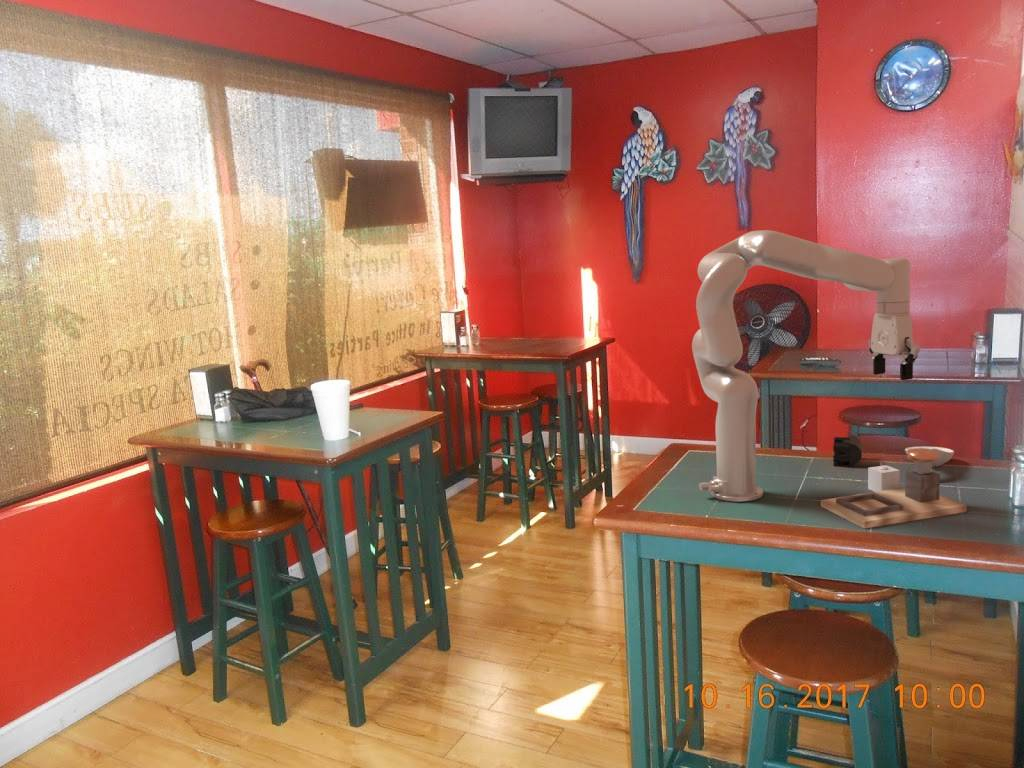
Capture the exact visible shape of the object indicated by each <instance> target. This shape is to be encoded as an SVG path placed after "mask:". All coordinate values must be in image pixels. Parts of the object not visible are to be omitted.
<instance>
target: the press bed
mask: <svg viewBox="0 0 1024 768" xmlns="http://www.w3.org/2000/svg"><path fill="white" fill-rule="evenodd" d="M904 478H905V480H904V481H905V483H904V484H905V486H904V487H899V488H897V489H891V490H884V491H878V492H874V491H872V492H867V493H866V492H865V493H858V494H854V495H852V494H851V495H846V496H840V497H834V498H827V499H821V500H820V507H821V508H823V509H825V510H827V511H830V512H831V513H833V514H835V515H837V516H839V517H841V518H843V519H845V520H847V521H849V522H851V523H853V524H855V525H857V526H859V527H861V528H862V529H869V528H876V527H882V526H887V525H895V524H901V523H906V522H907V523H908V522H912V521H917V520H918V521H919V520H925V519H930V518H937V517H942V516H949V515H955V514H961V513H967V512H968V505H967V504H965V503H962V502H959V501H957V500H955V499H951V498H949V497H947V496H944V495H942V494H940V485H941V484H940V481H941V480H940V479H941V474H940V473H937V472H934V471H932V474H929V475H923V476H921V475H918V474H916V473H914V469H913V470H907V471H905V477H904Z"/></svg>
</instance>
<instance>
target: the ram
mask: <svg viewBox="0 0 1024 768" xmlns="http://www.w3.org/2000/svg"><path fill="white" fill-rule="evenodd" d="M906 455H907V456H906V457H907V460H910V461H913V470H914V473H916V474H918V475H921V476H923V475H929V474H932V472H933V469H932V468H933V467H932V462H934V461H937V460H939V452H938V451H936V450H932V449H925V448H915V449H910V450H908V451H907V453H906Z"/></svg>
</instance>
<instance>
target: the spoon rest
mask: <svg viewBox="0 0 1024 768" xmlns="http://www.w3.org/2000/svg"><path fill="white" fill-rule="evenodd" d="M915 448H925V449H932V450H936V451H938V452H939V460H937V461H934V462H932V466H933V467H934V466H936V467H940V465H941V466H943V464H946V463H947V462H949V461H950V460H951V459H952V458H953V456H954V454H955V451H954V450H953V449H951V448H947V447H940V446H924V445H923V446H910V447H906V448H905V449H904V451H905V454H907V451H908V450H910V449H915ZM933 467H932V468H933Z"/></svg>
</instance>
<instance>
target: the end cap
mask: <svg viewBox="0 0 1024 768" xmlns="http://www.w3.org/2000/svg"><path fill="white" fill-rule="evenodd" d="M832 451H833V457H832V458H833V459H832V460H833V464H832V465H833V467H840V468H852V467H854V466H855V465H857V464H858V463H859V462H860V461H861V459H862V456H863V455H862V453H863V452H862V451H863V445H862V442H861V439H859V437H858V436H855V435H853V434H850V435H849V437H847V436H843V437H841V436H834V438H833V445H832Z"/></svg>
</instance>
